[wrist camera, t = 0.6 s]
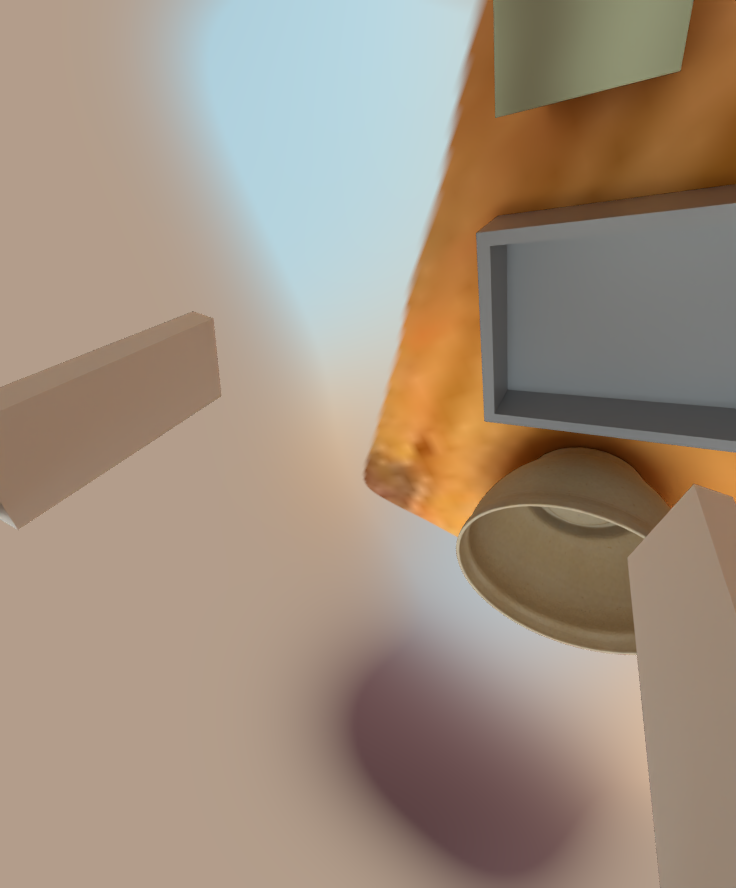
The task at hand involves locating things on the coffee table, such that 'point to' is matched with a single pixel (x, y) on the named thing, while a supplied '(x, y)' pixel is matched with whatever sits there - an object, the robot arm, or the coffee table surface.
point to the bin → (614, 318)
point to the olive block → (582, 47)
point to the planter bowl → (563, 547)
